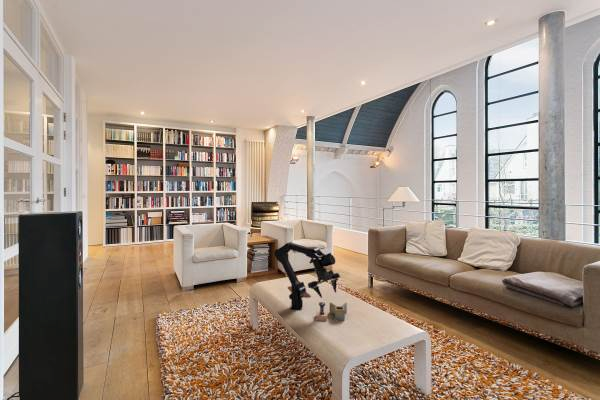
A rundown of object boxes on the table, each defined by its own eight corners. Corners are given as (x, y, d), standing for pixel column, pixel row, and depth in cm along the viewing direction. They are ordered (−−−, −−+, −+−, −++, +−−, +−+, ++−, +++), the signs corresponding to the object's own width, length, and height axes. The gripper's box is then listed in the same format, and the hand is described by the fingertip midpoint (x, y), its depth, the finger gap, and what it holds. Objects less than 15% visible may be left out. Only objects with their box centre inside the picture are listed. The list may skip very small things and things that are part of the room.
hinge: (330, 320, 171) (330, 309, 170) (329, 312, 182) (329, 302, 181) (349, 320, 170) (349, 310, 170) (346, 312, 181) (346, 302, 181)
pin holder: (316, 320, 170) (316, 315, 170) (316, 315, 176) (316, 311, 176) (327, 320, 170) (327, 316, 170) (326, 316, 176) (326, 311, 176)
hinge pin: (318, 319, 172) (318, 304, 171) (318, 316, 175) (318, 302, 175) (325, 319, 172) (325, 304, 171) (324, 316, 175) (325, 302, 175)
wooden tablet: (312, 298, 207) (312, 295, 207) (298, 299, 204) (298, 297, 204) (298, 286, 232) (298, 283, 232) (285, 287, 228) (285, 285, 228)
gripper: (309, 273, 167) (319, 301, 164) (339, 262, 174) (348, 289, 171) (303, 274, 177) (312, 300, 175) (331, 264, 184) (340, 289, 181)
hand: (328, 295), depth 175 cm, fingers open, 9 cm apart
